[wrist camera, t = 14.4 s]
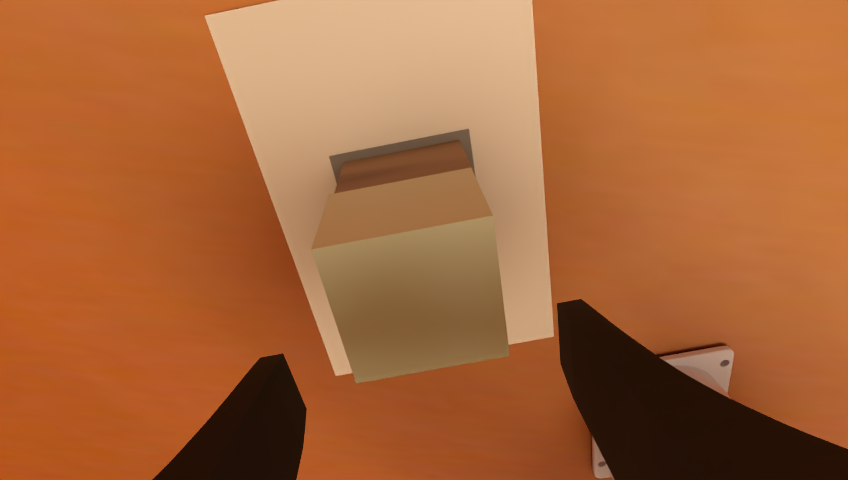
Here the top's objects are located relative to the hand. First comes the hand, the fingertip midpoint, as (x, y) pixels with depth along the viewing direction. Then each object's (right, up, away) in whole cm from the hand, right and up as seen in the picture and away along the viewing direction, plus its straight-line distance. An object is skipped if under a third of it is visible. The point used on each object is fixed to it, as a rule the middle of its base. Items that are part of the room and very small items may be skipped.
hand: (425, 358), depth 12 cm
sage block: (0, +3, +5) cm, 6 cm away
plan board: (-1, +5, +9) cm, 10 cm away
